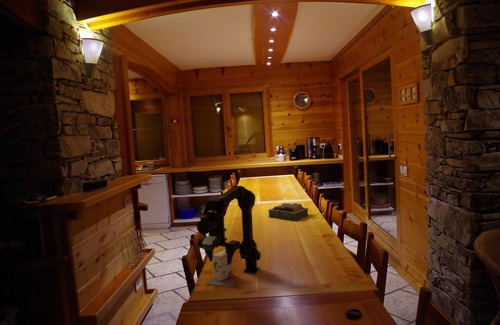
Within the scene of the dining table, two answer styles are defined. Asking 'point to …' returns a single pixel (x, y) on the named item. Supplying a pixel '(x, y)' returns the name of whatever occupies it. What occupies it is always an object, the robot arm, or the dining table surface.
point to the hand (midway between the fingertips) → (219, 263)
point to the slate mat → (222, 283)
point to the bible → (288, 212)
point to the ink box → (221, 266)
